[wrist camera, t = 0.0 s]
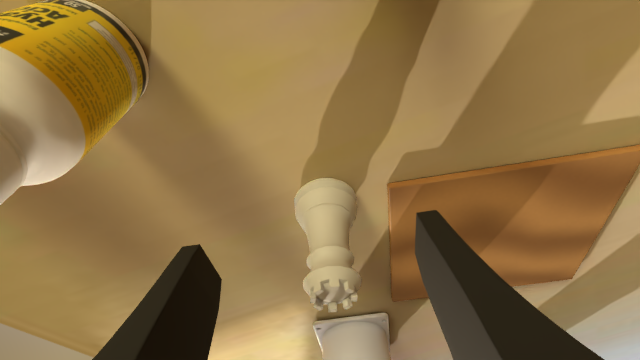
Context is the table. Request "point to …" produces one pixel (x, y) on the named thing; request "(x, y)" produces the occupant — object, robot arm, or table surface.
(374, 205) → the table surface
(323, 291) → the rook chess piece
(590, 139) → the table surface
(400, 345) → the table surface
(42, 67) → the supplement bottle
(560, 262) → the brown wooden board
